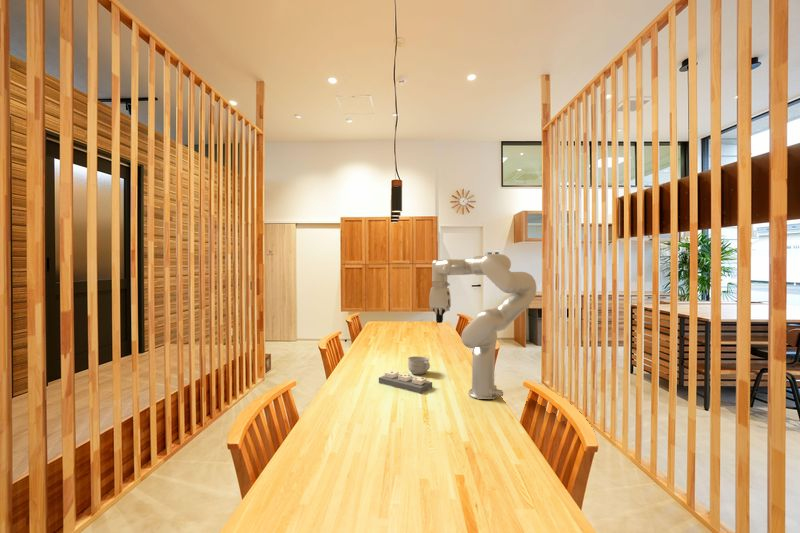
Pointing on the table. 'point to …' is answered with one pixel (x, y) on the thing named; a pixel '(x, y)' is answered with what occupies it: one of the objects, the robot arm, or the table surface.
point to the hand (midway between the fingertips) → (439, 322)
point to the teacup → (418, 365)
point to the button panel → (405, 384)
